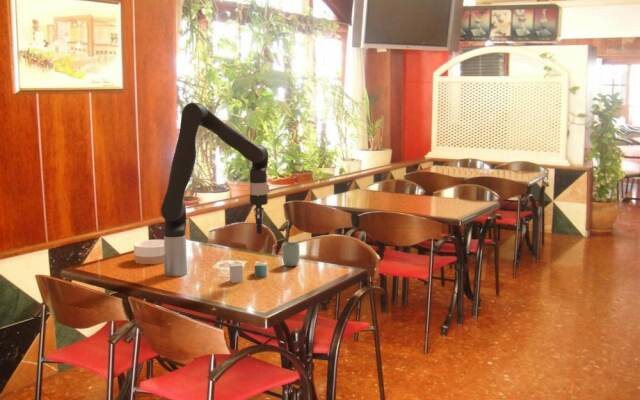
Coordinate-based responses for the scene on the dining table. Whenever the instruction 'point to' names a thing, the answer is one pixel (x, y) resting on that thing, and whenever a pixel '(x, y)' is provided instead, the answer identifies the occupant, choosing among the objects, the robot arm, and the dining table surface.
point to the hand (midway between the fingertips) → (259, 233)
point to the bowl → (149, 251)
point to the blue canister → (261, 269)
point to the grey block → (236, 273)
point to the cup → (290, 253)
